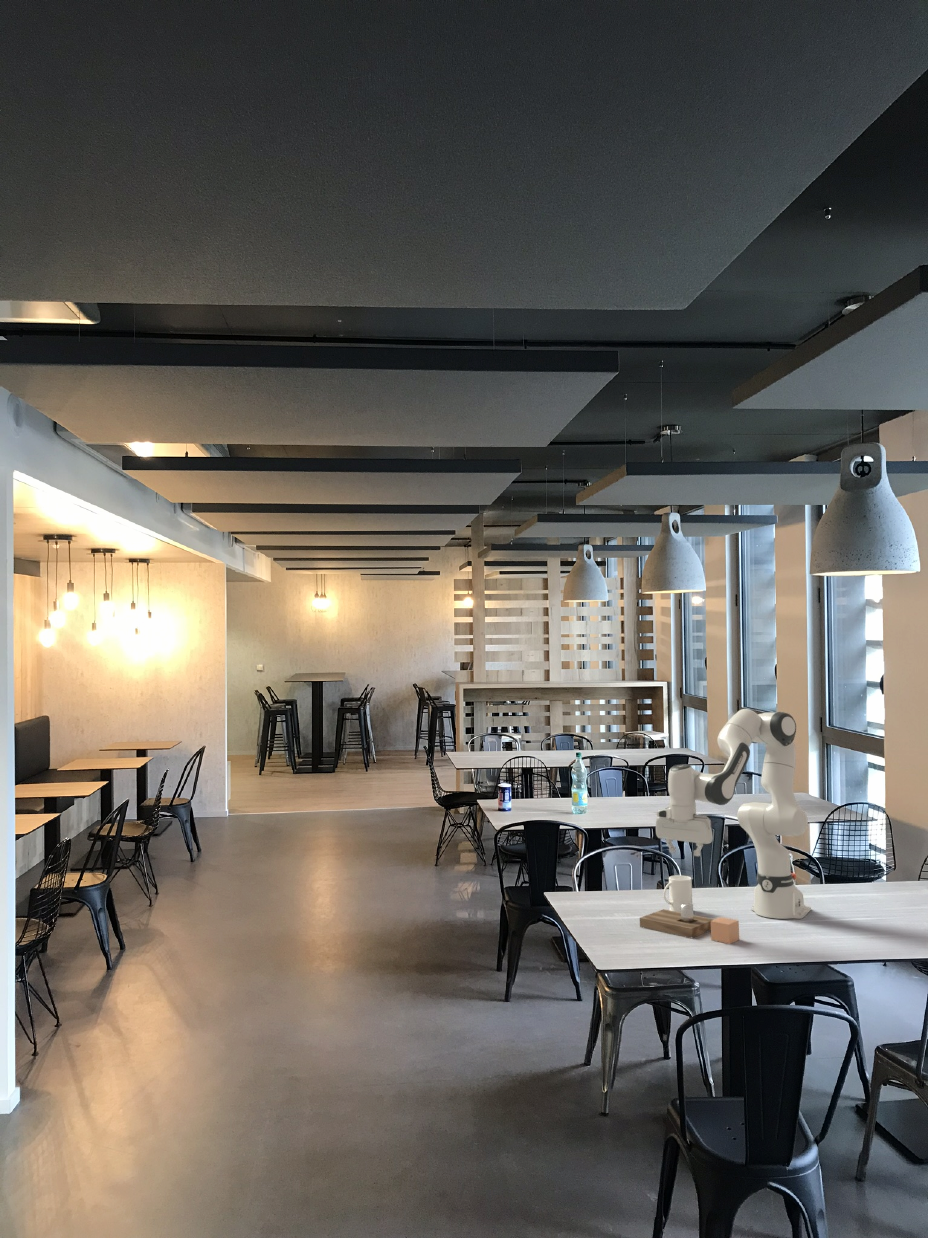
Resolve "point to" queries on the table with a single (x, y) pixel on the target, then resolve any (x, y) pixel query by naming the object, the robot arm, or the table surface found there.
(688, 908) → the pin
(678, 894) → the mug
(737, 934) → the tan wooden block
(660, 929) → the board
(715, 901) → the table surface
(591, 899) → the table surface
